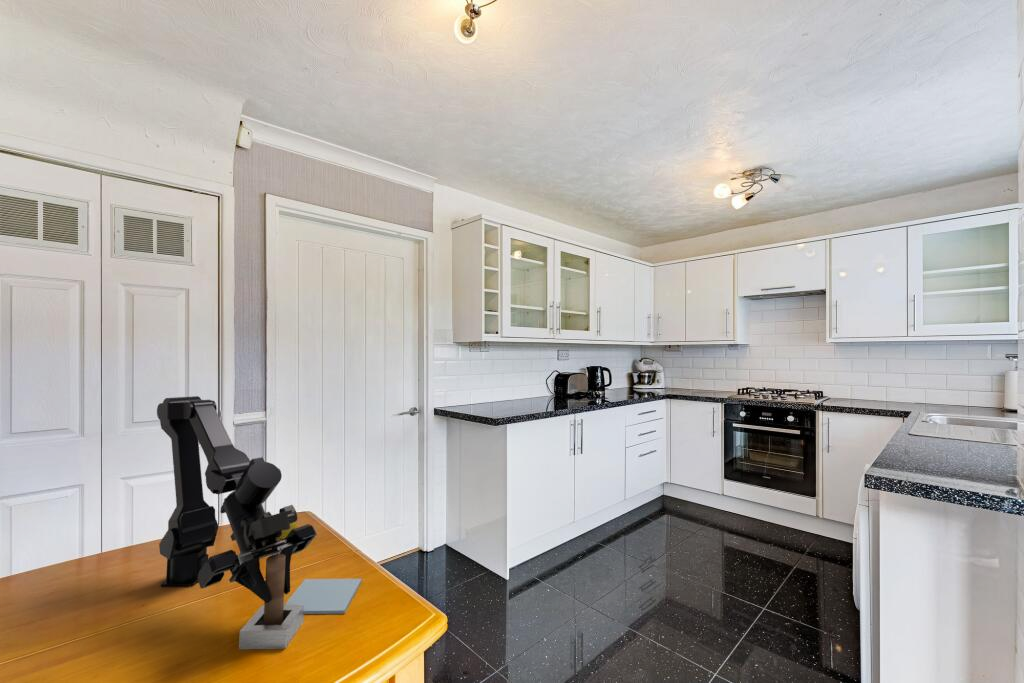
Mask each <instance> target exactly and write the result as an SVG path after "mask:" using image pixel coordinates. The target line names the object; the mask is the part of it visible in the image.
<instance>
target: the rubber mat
mask: <svg viewBox="0 0 1024 683" xmlns="http://www.w3.org/2000/svg"><path fill="white" fill-rule="evenodd" d="M362 582H363V579H362V578H305V579H304V580H303V581H302V582H301V584H299V586H298V587H297V589H296V590H295V591H294V592H293V594H292V595H291V596H290V598H289V599H288V600H287V601H286V603H284V605H304V615H328V614H329V615H333V614H335V615H336V614H341V615H343V614H345V613H346V611H347V610H348V609H349V606H350V604H351V602H352V601H353V599H354V597H355V595H356V593H357V591H358V590H359V587H360V586H361V584H362Z"/></svg>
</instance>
